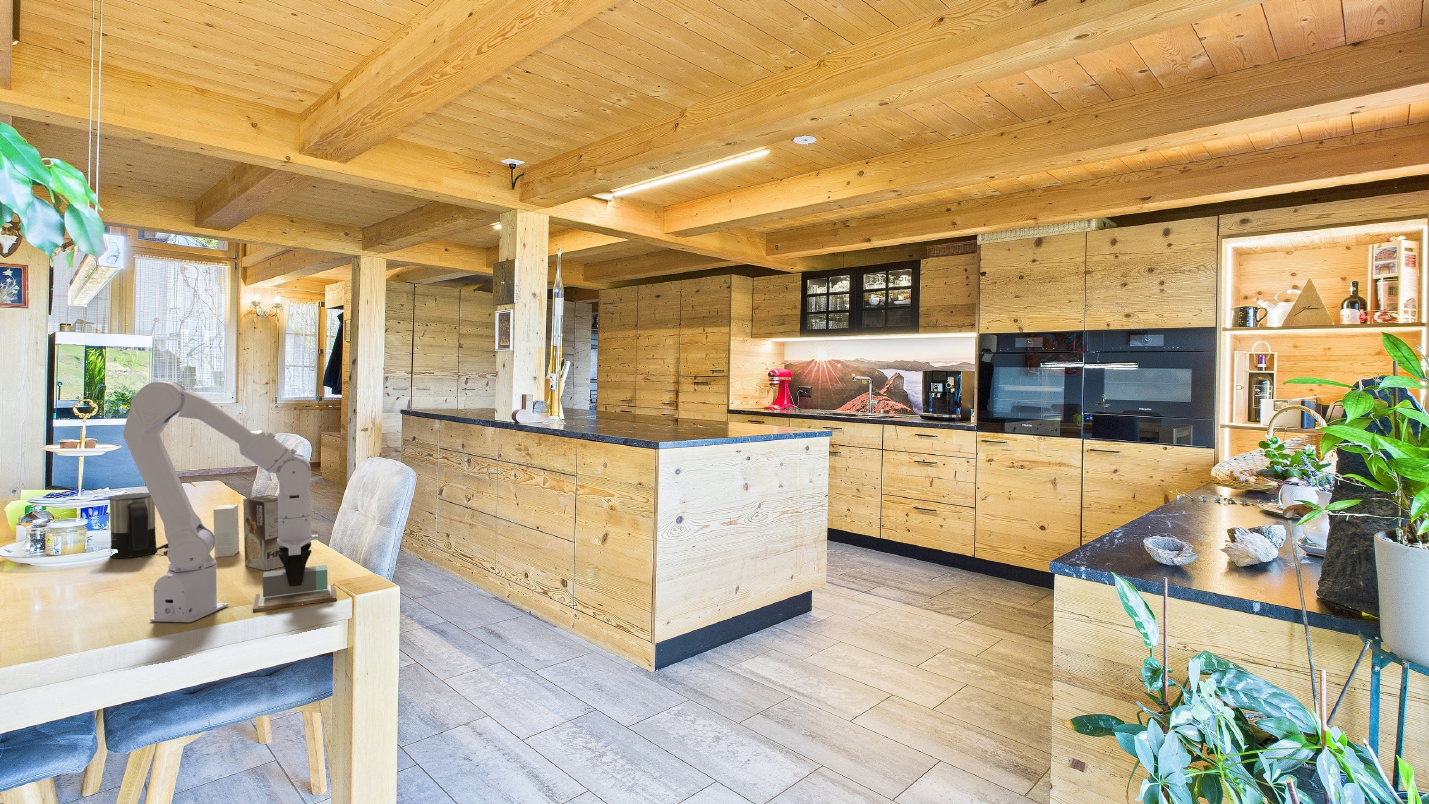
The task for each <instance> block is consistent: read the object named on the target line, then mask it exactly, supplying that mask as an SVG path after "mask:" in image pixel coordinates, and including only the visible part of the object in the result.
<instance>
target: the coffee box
mask: <svg viewBox="0 0 1429 804" xmlns="http://www.w3.org/2000/svg"><path fill="white" fill-rule="evenodd" d="M242 501H243V502H242V503H243V505H242V506H243V537H244V545H243V546H244V566H245V567H248V568H253V569H258V570H262V571H265V570H267V571H271V570H275V568H276V569H280V568H284V567H283V566H284V565H283V563H282V561H281V560H280V558H279V556H278V552H280V549H279V547H280V546H282V545H280V544H278V543H277V539H278V495H272V494H266V495H259V496H252V497H247V498H243V499H242ZM279 567H280V568H279ZM270 569H271V570H270Z"/></svg>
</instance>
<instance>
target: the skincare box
mask: <svg viewBox="0 0 1429 804" xmlns="http://www.w3.org/2000/svg"><path fill="white" fill-rule="evenodd" d="M239 522H240V521H239V505H238V504H237V503H233V504H219V505H218V506H216V507H215V508H214V509H213V534H214V536H215V546H214V557H215V558H223V557H225V556H226V557H235V555H236V554H237V553H238V552H239V551H240V529H239V528H240V526H239Z"/></svg>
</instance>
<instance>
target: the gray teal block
mask: <svg viewBox="0 0 1429 804" xmlns="http://www.w3.org/2000/svg"><path fill="white" fill-rule="evenodd" d="M327 585H328V564H321V565H316V566H314V565H313V566H305V571H304V577H303V582H302V585H299V586H291V587H290V586H289V584H288V580H287V575H286V571H285V569H279V570H278V569H277V570H268V571H263V575H262V594H263V597H270V596H278V595H286V594H293V593H301V592H309V591H317V590H324V589H328V586H327Z"/></svg>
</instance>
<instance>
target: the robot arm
mask: <svg viewBox="0 0 1429 804" xmlns="http://www.w3.org/2000/svg"><path fill="white" fill-rule="evenodd" d="M178 413H179V414H178ZM176 415H177V417H178V418H179V417H180V418H187V419H188V418H189V419H194V420H199V421H201V422H202V423H204V424H206V425H208V426H209V427H210V428H213V430H215V431H217V432H219V433H220V434H222V435H224V436H225V437H227V438H228V439H230V440H231V441H233V442H235V443H237V444H238V445H239V454H240V455H242V456H243V457H244V458H246V459H248V460H249V461H251V462H252V463H254V464H255V465H257V466H258V467H260V468H261V469H263V470H264V471H266V472H267V473H270V474H271V473H273V474H275V476H276V477H275V478H276V479H277V481H278V482H279V483H278V485H279V486H278V489H279V492H278V493H277V496H278V539H277V543H278V544H280V545H282V546H280V547H279V549H280V552H278V556H279V558H280V560H281V561H282V563H283V565H284V567H283V568H284V570H285V571H286V575H287V580H288V584H289V586H290V587H291V586H299V585H302V582H303V577H304V571H305V567H307V562H308V560H309V557H310V556H311V554H312V549H310V548H311V547H312V542H311V541H317V540H318V539H319V534H316V533H315V534H312V493H311V490H310V489H311V482H310V479H311V477H312V469H311V463H310V462H309V460H308V459H307V458H305V456H304V455H302V454H299V453H297V450H296V448H293V447H292V448H291V449H290V448H289V447H287V446H286V444H285V445H284V443H282V442H280V441H279V440H277V439H276V436H277V435H275V434H274V433H273V432H272V431H269V432H268V433H267V432H266V431H264V430H250V429H249V428H247V427H246V426H244V424H241V423H240V422H239V421H238V420H236V419H235V418H233V416H231V415H230V414H228V413H227V412H226V411H224V410H223V409H221V408H220V407H218V406H217V405H216V404H215V403H213V402H211V400H209V399H207V398H205V397H204V396H202V395H200V394H198V393H197V392H195V391H193V390H191V389H187V388H185V387H184V385H182V384H181V383H179V382H177V381H174V380H173V381H172V380H164V381H154V382H153V381H152V382H149V383H148V384H145V385H144V386H142V388H140V390H139V391H137V393H136V394H135V395H134V396H133V398H132V399H131V401H130V408H129V411H128V415H127V417H126V421H125V424H124V428H123V430H122V434H123V439H124V441H125V444H126V446H127V447H128V450H129V452H130V453H131V456H132V458H133V460H134V463H135V464H136V467H137V469H138V472H139V473H140V475H141V477H142V481H143V482H144V484H145V487H146V488H147V491H148V493H150V495H151V497H152V500H153V502H154V504H155V509H156V511H157V512H158V515H159V517H160V519H161V521H162V523H163V527H164V536H165V540H166V542H167V543H168V549H167V559H168V561H169V562H170V563H169V564H168V566H167V567H168V569H167V571H166V573H165V574H164V575H163V576H161V577H159V578H158V579H157V580H156V582H155V583H154V586H153V615H154V616H152V617H151V618H149V621H150V622H159V623H160V622H164V623H168V622H169V623H171V622H172V623H192V622H195V621H196V620H199V619H201V618H204V617H205V616H208V615H211V614H212V613H215V612H218V611H219V610H222V609H223V608H225V607H228V606H229V603H228V602H217V598H218V597H217V592H218V591H217V590H218V589H217V560H216V558H215V559H214V557H212V555H211V552H212V551H213V549H215V547H214V546H215V536H214V532H213V531H211V529H209V528H207V527H206V526H205V525H204V524H203V523H202V520H201V518H200V517H199V515H198V514H197V513H196V512H195V510H194V509H193V506H192V504H191V502H190V500H189V497H188V495H187V493H186V491H185V489H184V486H183V484H182V482H181V480H180V478H179V475H178V473H177V471H176V469H175V466H174V464H173V462H172V460H171V457H170V455H169V453H168V450H167V449H166V447H165V444H164V442H163V440H162V438H161V434H162V432H163V431H164V429H165V428H166V426H167V425H168V423H169V422H170V420H171V419H172V418H173V417H175V416H176Z"/></svg>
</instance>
